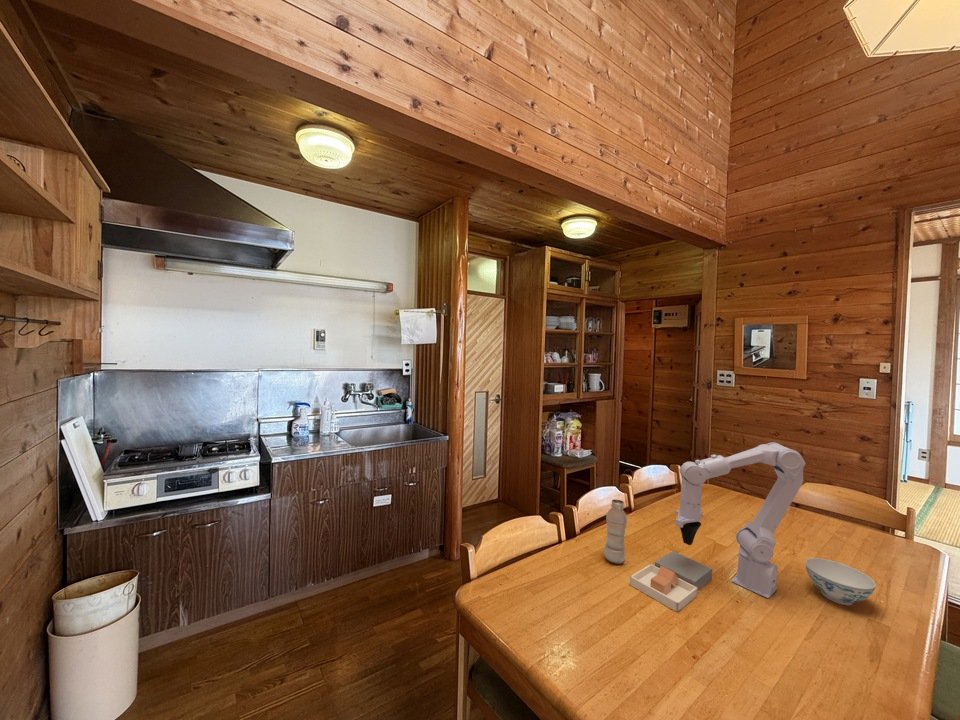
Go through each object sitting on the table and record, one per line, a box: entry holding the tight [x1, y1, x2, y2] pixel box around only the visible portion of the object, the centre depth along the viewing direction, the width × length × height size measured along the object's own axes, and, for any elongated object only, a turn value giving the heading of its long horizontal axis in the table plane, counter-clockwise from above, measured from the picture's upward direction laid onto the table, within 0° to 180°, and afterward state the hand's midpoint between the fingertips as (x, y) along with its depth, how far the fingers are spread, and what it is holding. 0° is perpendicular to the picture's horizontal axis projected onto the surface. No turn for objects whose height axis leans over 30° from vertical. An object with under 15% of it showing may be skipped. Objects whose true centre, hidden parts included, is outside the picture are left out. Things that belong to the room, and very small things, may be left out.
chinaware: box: [804, 557, 877, 606], centre depth 111 cm, size 15×15×8 cm
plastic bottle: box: [603, 499, 628, 565], centre depth 124 cm, size 6×7×20 cm
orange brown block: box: [657, 566, 678, 587], centre depth 112 cm, size 4×4×3 cm
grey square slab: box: [654, 550, 713, 591], centre depth 118 cm, size 12×12×4 cm
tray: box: [629, 563, 699, 613], centre depth 110 cm, size 14×12×2 cm
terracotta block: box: [650, 575, 671, 595], centre depth 109 cm, size 4×4×3 cm
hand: (687, 543), depth 119 cm, fingers closed
